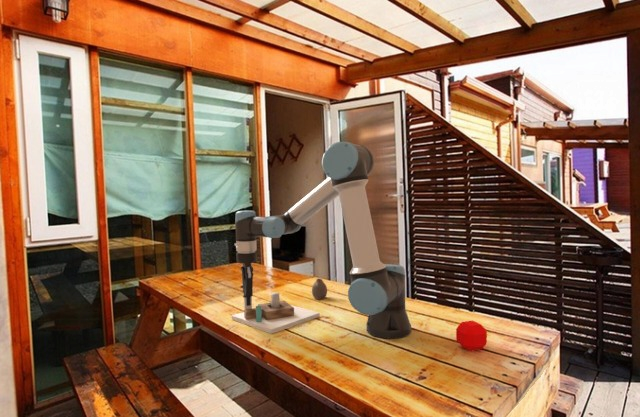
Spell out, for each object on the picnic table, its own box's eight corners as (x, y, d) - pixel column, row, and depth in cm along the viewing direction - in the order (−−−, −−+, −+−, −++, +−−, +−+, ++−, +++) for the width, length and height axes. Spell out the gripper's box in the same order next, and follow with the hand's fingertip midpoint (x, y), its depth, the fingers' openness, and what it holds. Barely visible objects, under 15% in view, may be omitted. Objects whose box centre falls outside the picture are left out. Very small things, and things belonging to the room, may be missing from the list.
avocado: (325, 300, 175) (325, 281, 175) (310, 300, 176) (310, 280, 176) (328, 296, 182) (328, 277, 181) (314, 296, 183) (313, 277, 183)
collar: (284, 307, 160) (284, 300, 160) (294, 315, 150) (293, 307, 150) (241, 314, 152) (241, 306, 152) (249, 322, 142) (248, 314, 142)
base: (319, 316, 153) (319, 292, 153) (271, 333, 136) (270, 306, 135) (279, 305, 169) (278, 283, 169) (231, 319, 152) (231, 295, 152)
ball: (491, 351, 117) (491, 325, 117) (468, 354, 115) (468, 329, 115) (473, 341, 125) (473, 317, 125) (452, 344, 123) (452, 320, 122)
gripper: (234, 249, 153) (236, 309, 155) (238, 255, 141) (240, 319, 143) (253, 248, 156) (255, 307, 157) (259, 253, 144) (261, 317, 145)
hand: (248, 313), depth 150 cm, fingers closed
